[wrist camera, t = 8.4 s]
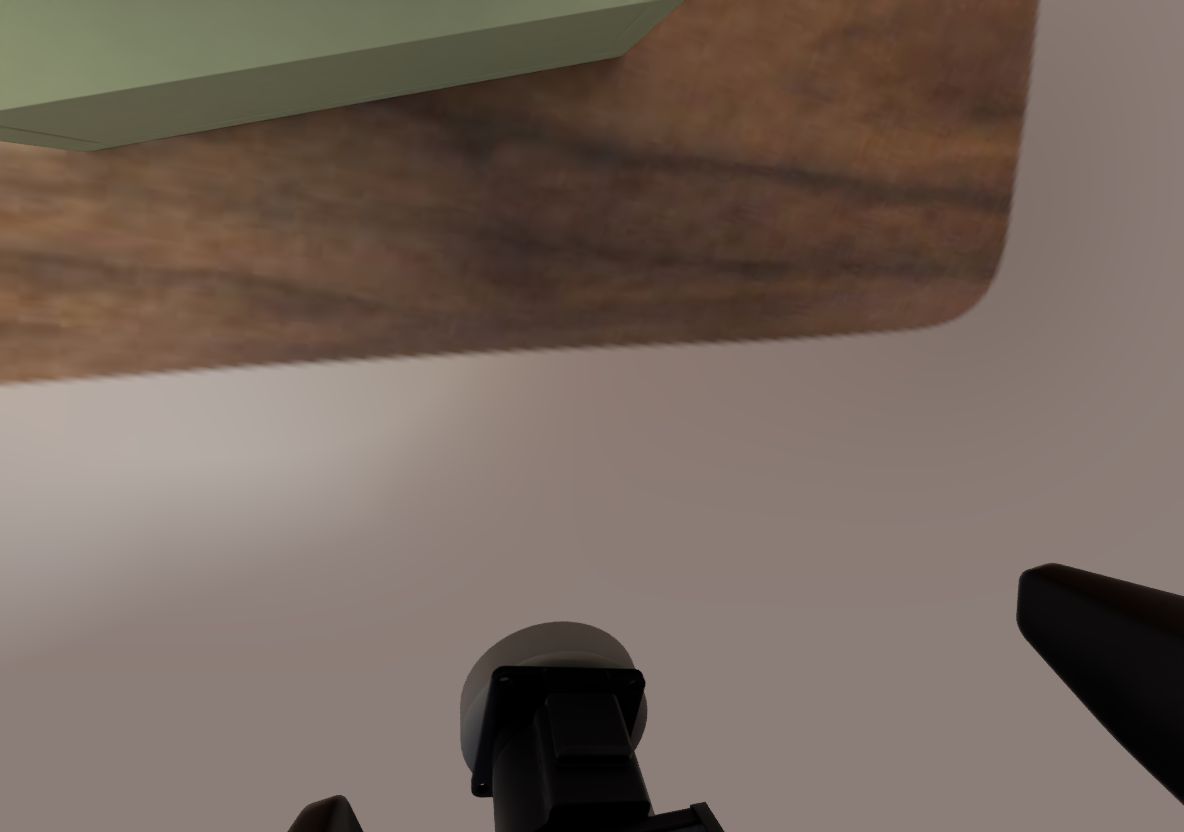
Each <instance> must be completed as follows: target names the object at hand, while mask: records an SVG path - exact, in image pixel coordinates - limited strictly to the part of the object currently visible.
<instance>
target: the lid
mask: <svg viewBox="0 0 1184 832" xmlns="http://www.w3.org/2000/svg"><path fill="white" fill-rule="evenodd" d="M653 1H658V0H0V111H4V110H10V109H16V108H22V107H28V106H34V105H40V104H46V103H52V102H57V101H63V100H69V99H75V98H81V97H87V96H93V95H99V94H105V93H111V92H117V91H123V90H129V89H135V88H141V87H147V86H153V85H159V84H165V83H171V82H176V81H182V80H188V79H194V78H200V77H206V76H212V75H218V74H224V73H230V72H236V71H242V70H248V69H254V68H260V67H266V66H272V65H278V64H284V63H290V62H295V61H301V60H307V59H313V58H319V57H325V56H331V55H337V54H343V53H349V52H355V51H361V50H367V49H373V48H379V47H385V46H391V45H397V44H403V43H409V42H414V41H420V40H426V39H432V38H438V37H444V36H450V35H456V34H462V33H468V32H474V31H480V30H486V29H492V28H498V27H504V26H510V25H516V24H522V23H528V22H534V21H539V20H545V19H551V18H557V17H563V16H569V15H575V14H581V13H587V12H593V11H599V10H605V9H611V8H617V7H623V6H629V5H635V4H641V3H647V2H653Z"/></svg>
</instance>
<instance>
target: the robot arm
mask: <svg viewBox="0 0 1184 832" xmlns="http://www.w3.org/2000/svg"><path fill="white" fill-rule="evenodd" d="M1016 618H1017V619H1016V620H1017V624H1018V627H1019V629H1020V631H1021V633H1022V635H1023V636H1024V638H1025V639H1026V640H1027V641H1028V642H1029V643H1030V644H1031V646H1032V647H1033V648H1034V649H1035V650H1036V651H1037V652H1038V653H1039V655H1040V656H1041V657H1042V658H1043V659H1044V660H1045V661H1046V662H1047V664H1048V665H1049V666H1050V667H1051V668H1052V669H1053V670H1054V671H1055V673H1056V674H1057V675H1058V676H1059V677H1060V678H1061V679H1062V680H1063V682H1064V683H1065V684H1066V685H1067V686H1068V687H1069V688H1070V689H1071V691H1072V692H1073V693H1074V694H1075V695H1076V696H1077V697H1078V698H1079V699H1080V701H1081V702H1082V703H1083V704H1084V705H1085V706H1086V707H1087V708H1088V710H1089V711H1090V712H1091V713H1092V714H1093V715H1094V716H1095V717H1096V719H1097V720H1098V721H1099V722H1100V723H1101V724H1102V725H1103V726H1104V727H1105V728H1106V729H1107V731H1108V732H1109V733H1110V734H1111V735H1112V736H1113V737H1114V738H1115V739H1116V740H1117V741H1118V742H1119V743H1120V744H1121V745H1122V746H1123V747H1124V748H1125V749H1126V750H1127V751H1128V752H1129V753H1130V754H1131V755H1132V756H1133V757H1134V758H1135V759H1136V760H1137V761H1138V762H1139V763H1140V764H1141V765H1142V766H1143V767H1144V768H1145V769H1146V770H1147V771H1148V772H1149V773H1150V774H1152V776H1154V777H1155V778H1156V779H1157V780H1158V781H1159V782H1160V783H1161V784H1162V785H1163V786H1164V787H1165V788H1166V789H1167V790H1168V791H1169V792H1170V793H1171V794H1172V795H1173V796H1174V797H1175V798H1177V799H1178V800H1179V801H1180V802H1181V803H1182V804H1183V805H1184V596H1181V595H1177V594H1173V593H1169V592H1165V591H1161V590H1158V589H1153V588H1150V587H1146V586H1142V585H1138V584H1134V583H1131V582H1127V581H1123V580H1119V579H1115V578H1111V577H1107V576H1103V575H1100V574H1096V573H1092V572H1088V571H1084V570H1080V569H1076V568H1073V567H1069V566H1065V565H1061V564H1056V563H1049V564H1044V565H1041V566H1038V567H1035V568H1032V569H1028V570H1026V571H1024V572H1023V573H1022V574H1021V576H1020V578H1019V586H1018V600H1017V614H1016ZM502 678H509V679H507V680H505V681H501V680H500V679H502ZM634 680H636V681H635V682H634V683H630V682H632V681H634ZM645 684H646V682H645V679H644V677H643V674H642V672H641V671H639V670H637V669H622V668H584V667H545V666H507V665H505V666H500V667H498V668H496V669H495V670H494V671H493V673H492V675H491V679H490V685H489V690H488V695H487V700H486V705H485V711H484V716H483V721H482V726H481V731H480V736H479V742H478V747H477V752H476V757H475V762H474V768H473V773H472V778H471V792H472V794H473V795H474V796H476V797H480V798H484V797H485V798H486V797H493V803H494V819H495V832H724V831H723V829H722V827H721V826H720V824H719V823H718V821H717V819H716V818H715V816H714V815H713V813H712V812H711V810H710V808H709V807H708V805H707V804H706V802H702V803H697V804H692V805H690V808H687V809H682V810H678V811H672V812H667V813H663V814H658V815H655V814H654V811H653V808H652V805H651V802H650V798H649V795H648V792H647V789H646V786H645V783H644V780H643V777H642V774H641V771H640V768H639V765H638V761H637V758H636V755H635V752H634V749H633V746H632V743H631V740H630V738H631V735H632V731H633V728H634V724H635V721H636V717H637V714H638V710H639V707H640V703H641V699H642V696H643V692H644V689H645ZM481 784H484V785H481ZM288 832H363V830H362V828H361V826H360V824H359V822H358V820H357V818H356V816H355V814H354V812H353V810H352V808H351V806H350V804H349V802H348V801H347V799H346V798H345V797H344V796H342V795H336V796H333V797H330V798H327V799H324V800H321V801H318V802H314V803H312V804H310V805H308V806H306V807H305V808H304V809H303V810H302V811H301V813H300V814H299V816H298V817H297V819H296V820H295V821H294V823H293V824H292V826H291V827H290V829H289V830H288Z"/></svg>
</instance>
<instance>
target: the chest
mask: <svg viewBox="0 0 1184 832" xmlns="http://www.w3.org/2000/svg"><path fill="white" fill-rule="evenodd" d="M683 1H685V0H658V1H653V2H647V3H641V4H635V5H629V6H623V7H617V8H611V9H605V10H599V11H593V12H587V13H581V14H575V15H569V16H563V17H557V18H551V19H545V20H539V21H534V22H528V23H522V24H516V25H510V26H504V27H498V28H492V29H486V30H480V31H474V32H468V33H462V34H456V35H450V36H444V37H438V38H432V39H426V40H420V41H414V42H409V43H403V44H397V45H391V46H385V47H379V48H373V49H367V50H361V51H355V52H349V53H343V54H337V55H331V56H325V57H319V58H313V59H307V60H301V61H295V62H290V63H284V64H278V65H272V66H266V67H260V68H254V69H248V70H242V71H236V72H230V73H224V74H218V75H212V76H206V77H200V78H194V79H188V80H182V81H176V82H171V83H165V84H159V85H153V86H147V87H141V88H135V89H129V90H123V91H117V92H111V93H105V94H99V95H93V96H87V97H81V98H75V99H69V100H63V101H57V102H52V103H46V104H40V105H34V106H28V107H22V108H16V109H10V110H4V111H0V141H4V142H12V143H19V144H26V145H34V146H41V147H49V148H56V149H63V150H67V149H69V150H75V151H82V152H89V151H95V150H100V149H106V148H112V147H117V146H123V145H128V144H134V143H139V142H145V141H151V140H156V139H162V138H167V137H173V136H179V135H184V134H190V133H195V132H201V131H207V130H212V129H218V128H223V127H229V126H235V125H240V124H246V123H251V122H257V121H262V120H268V119H274V118H279V117H285V116H290V115H296V114H302V113H307V112H313V111H318V110H324V109H330V108H335V107H341V106H346V105H352V104H358V103H363V102H369V101H374V100H380V99H386V98H391V97H397V96H402V95H408V94H413V93H419V92H425V91H430V90H436V89H441V88H447V87H453V86H458V85H464V84H469V83H475V82H481V81H486V80H492V79H497V78H503V77H509V76H514V75H520V74H525V73H531V72H537V71H542V70H548V69H553V68H559V67H564V66H570V65H576V64H581V63H587V62H592V61H598V60H604V59H609V58H615V57H620V56H623V55H624V54H625V53H626V52H627V51H628V50H630V48H632V47H633V46H634V45H635V44H636V43H637V42H638V41H640V40H641V39H642V38H643V37H644V36H645V35H646V34H647V33H649V32H650V31H651V30H652V29H653V28H654V27H655V26H656V25H658V24H659V23H660V22H661V21H662V20H663V19H664V18H665V17H667V16H668V15H669V14H670V13H671V12H672V11H673V10H674V9H676V8H677V7H678V6H679V5H680V4H681V3H682V2H683Z"/></svg>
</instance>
